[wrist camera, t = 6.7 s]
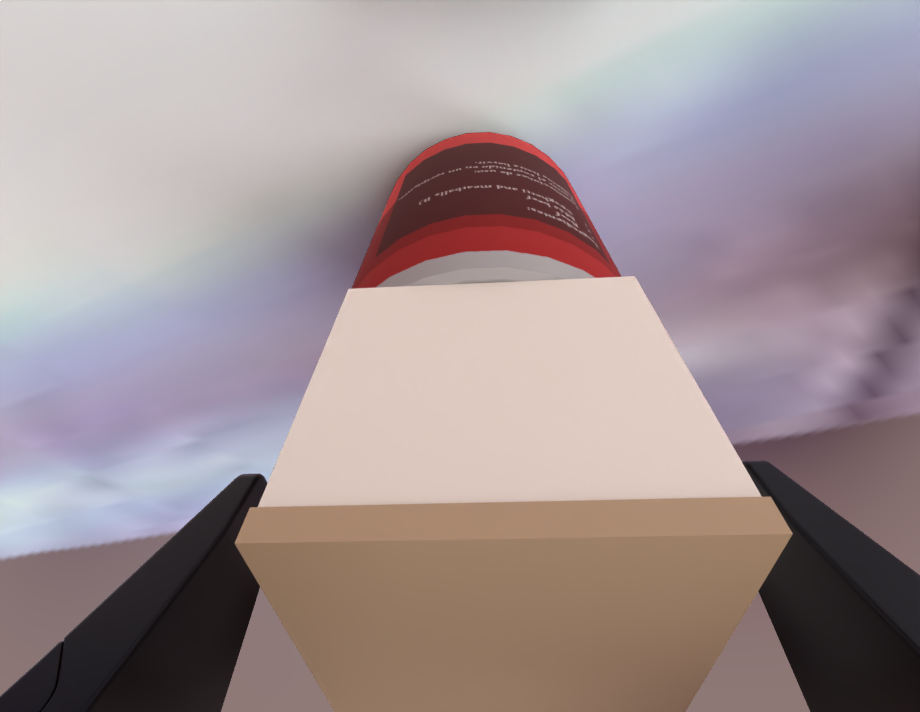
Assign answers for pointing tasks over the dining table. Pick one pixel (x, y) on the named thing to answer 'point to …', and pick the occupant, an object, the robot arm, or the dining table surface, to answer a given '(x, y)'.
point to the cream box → (508, 506)
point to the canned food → (483, 220)
